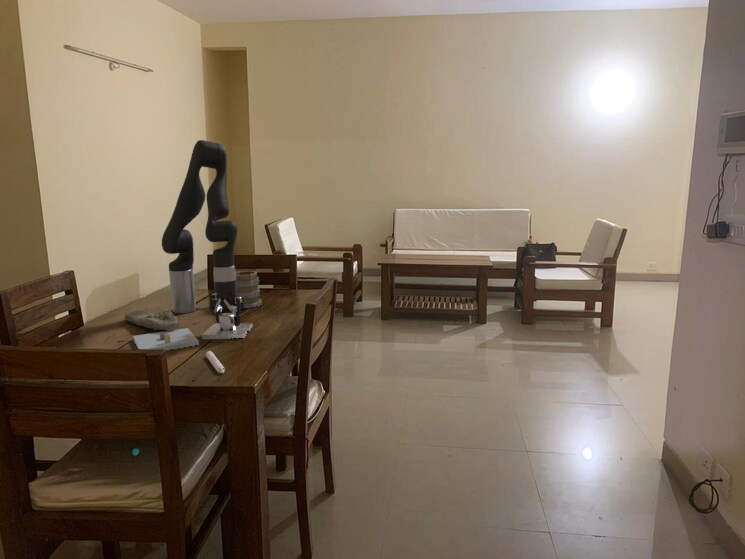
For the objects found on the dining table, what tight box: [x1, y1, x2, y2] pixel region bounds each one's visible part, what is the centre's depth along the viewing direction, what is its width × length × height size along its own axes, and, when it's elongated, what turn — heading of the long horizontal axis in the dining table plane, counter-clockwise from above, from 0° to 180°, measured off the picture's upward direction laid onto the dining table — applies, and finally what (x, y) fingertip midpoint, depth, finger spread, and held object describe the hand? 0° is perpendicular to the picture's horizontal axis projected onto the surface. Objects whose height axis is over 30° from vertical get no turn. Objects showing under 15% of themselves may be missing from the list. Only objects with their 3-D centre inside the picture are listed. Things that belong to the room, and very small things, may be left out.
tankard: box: [233, 270, 263, 310], centre depth 236 cm, size 20×13×15 cm, turn 58°
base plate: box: [132, 327, 200, 352], centre depth 184 cm, size 18×18×4 cm
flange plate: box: [201, 312, 254, 340], centre depth 194 cm, size 14×14×7 cm
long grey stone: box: [124, 310, 179, 331], centre depth 204 cm, size 35×5×10 cm
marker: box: [205, 350, 226, 374], centre depth 162 cm, size 18×2×2 cm, turn 28°
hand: (228, 324), depth 194 cm, fingers open, 8 cm apart
